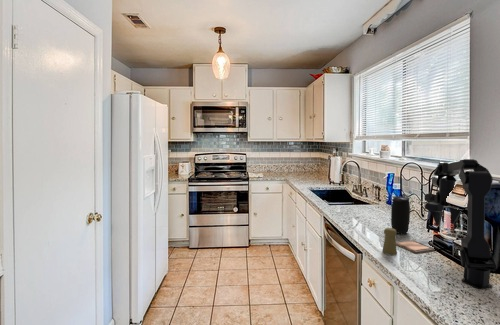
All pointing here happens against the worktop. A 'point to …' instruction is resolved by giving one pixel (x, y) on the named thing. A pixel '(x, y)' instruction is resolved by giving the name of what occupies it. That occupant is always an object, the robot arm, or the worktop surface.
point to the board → (416, 246)
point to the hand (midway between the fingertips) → (444, 224)
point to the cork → (390, 241)
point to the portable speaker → (400, 214)
